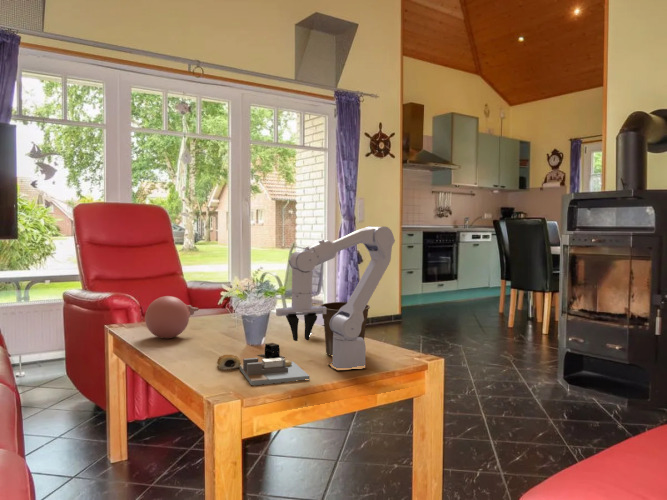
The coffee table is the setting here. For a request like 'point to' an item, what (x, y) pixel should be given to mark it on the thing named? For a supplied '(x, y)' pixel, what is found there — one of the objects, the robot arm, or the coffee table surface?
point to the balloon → (168, 316)
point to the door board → (271, 372)
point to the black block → (271, 351)
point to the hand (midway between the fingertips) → (301, 339)
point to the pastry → (228, 362)
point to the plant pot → (330, 312)
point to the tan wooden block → (273, 363)
